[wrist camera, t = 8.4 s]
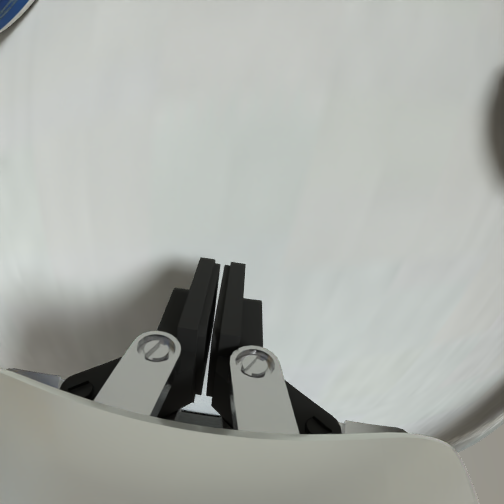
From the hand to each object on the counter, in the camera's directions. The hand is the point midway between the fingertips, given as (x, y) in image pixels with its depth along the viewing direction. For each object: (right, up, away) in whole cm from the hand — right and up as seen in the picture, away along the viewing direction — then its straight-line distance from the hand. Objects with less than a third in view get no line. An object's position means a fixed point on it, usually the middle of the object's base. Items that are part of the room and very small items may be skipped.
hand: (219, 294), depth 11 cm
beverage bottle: (-11, +16, -5) cm, 21 cm away
